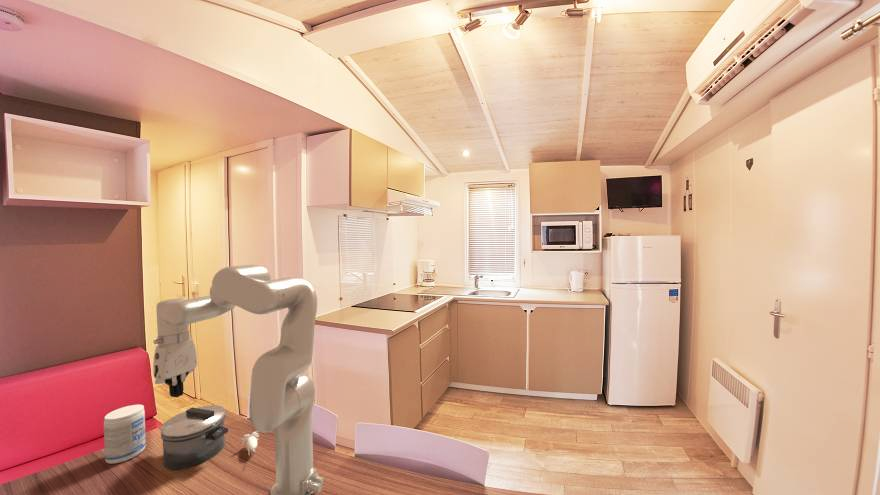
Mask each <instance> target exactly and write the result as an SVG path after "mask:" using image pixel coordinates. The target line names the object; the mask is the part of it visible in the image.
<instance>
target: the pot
mask: <svg viewBox="0 0 880 495" xmlns="http://www.w3.org/2000/svg"><path fill="white" fill-rule="evenodd" d="M226 417H227V409H225V416H224V418H223V419H222V420H221V421H220V422H219V423H218V424H216V425H214V426H213V427H211V428H209V429H207V430H205V431H202V432H199V433H197V434H193V435H190V436H186V437H180V438H167V437H164V436H162V434H161V433H160V439H161V440H162V458H163V460H162V462H163V463H162V464H163V467H164V469H166V470H170V471H180V470H186V469H190V468H193V467H196V466H199V465H201V464H204V463H205V462H208V461H209V460H211V459H212V458H214V457H215V456H216V455H219V453H220V452H221V451H222V450H223V448H224V447H225V445H226V444H225V443H226V442H225V436H226V434H228V433H229V427H225V419H226Z"/></svg>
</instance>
